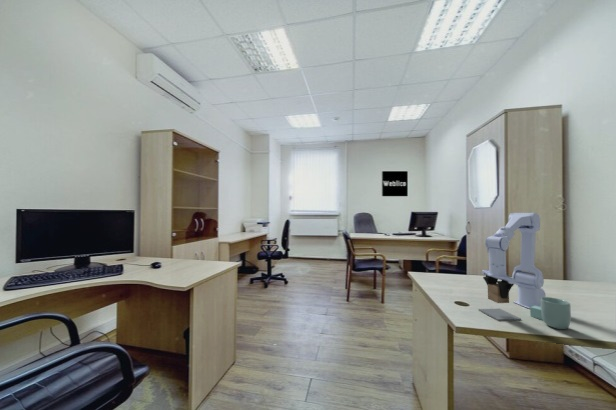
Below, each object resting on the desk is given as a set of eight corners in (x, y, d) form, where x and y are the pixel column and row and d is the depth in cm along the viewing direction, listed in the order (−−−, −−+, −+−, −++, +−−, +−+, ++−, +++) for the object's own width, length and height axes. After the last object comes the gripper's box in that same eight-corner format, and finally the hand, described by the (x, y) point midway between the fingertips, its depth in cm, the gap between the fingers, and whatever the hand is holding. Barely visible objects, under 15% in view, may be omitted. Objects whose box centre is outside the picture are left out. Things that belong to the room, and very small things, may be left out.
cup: (536, 322, 93) (535, 297, 93) (553, 321, 93) (552, 296, 94) (558, 332, 85) (557, 304, 85) (577, 331, 86) (576, 304, 86)
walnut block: (498, 298, 102) (498, 283, 103) (509, 302, 97) (508, 287, 98) (488, 298, 102) (487, 283, 102) (497, 303, 97) (497, 287, 97)
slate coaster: (499, 309, 105) (499, 308, 105) (521, 320, 95) (521, 318, 95) (478, 310, 104) (478, 309, 104) (497, 320, 94) (497, 319, 94)
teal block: (535, 314, 100) (535, 305, 100) (547, 318, 96) (547, 308, 96) (530, 316, 98) (530, 306, 98) (542, 320, 95) (542, 310, 95)
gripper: (475, 260, 107) (476, 290, 107) (503, 268, 93) (504, 302, 92) (490, 260, 108) (490, 290, 107) (520, 267, 93) (521, 302, 93)
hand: (498, 295), depth 100 cm, fingers closed on walnut block, 5 cm apart
